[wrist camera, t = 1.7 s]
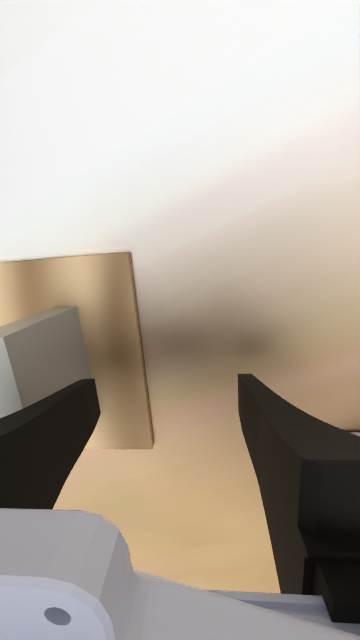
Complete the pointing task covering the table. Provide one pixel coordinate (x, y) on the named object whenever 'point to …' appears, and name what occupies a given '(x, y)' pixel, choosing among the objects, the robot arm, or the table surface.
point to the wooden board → (92, 333)
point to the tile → (40, 357)
